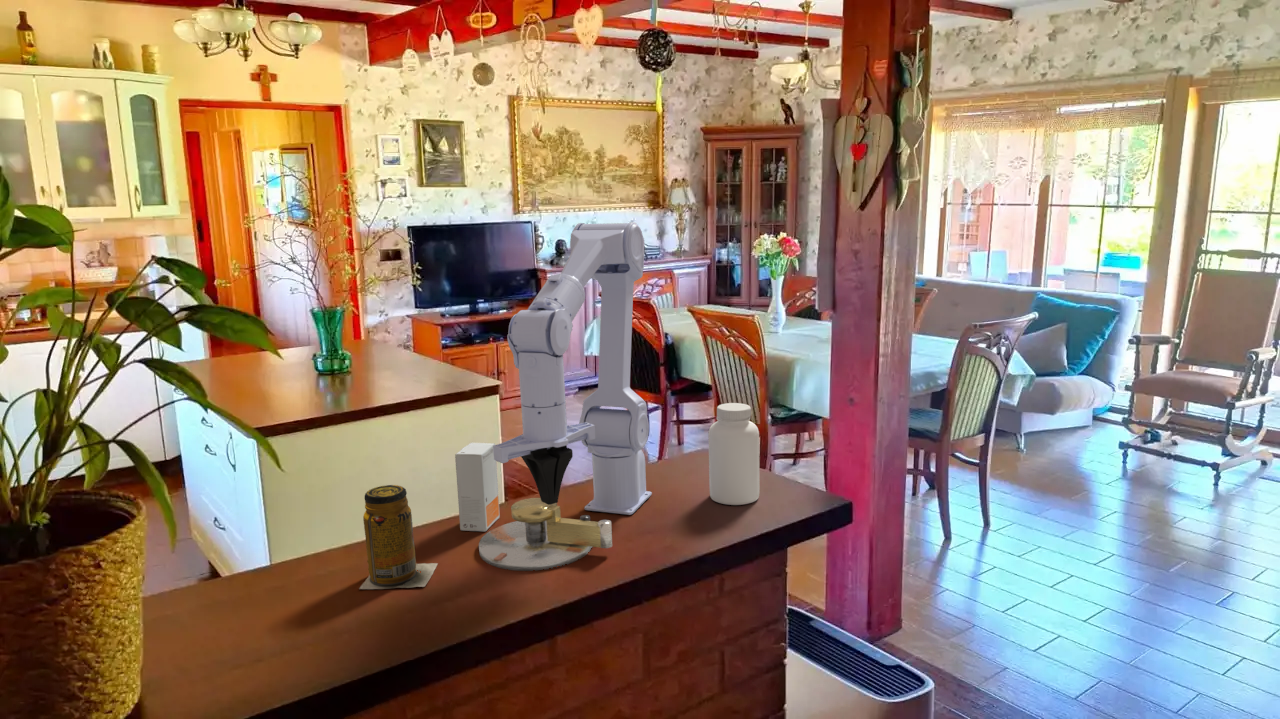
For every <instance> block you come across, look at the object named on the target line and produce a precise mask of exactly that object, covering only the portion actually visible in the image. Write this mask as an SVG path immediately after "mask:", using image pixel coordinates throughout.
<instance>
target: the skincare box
mask: <svg viewBox="0 0 1280 719" xmlns="http://www.w3.org/2000/svg"><path fill="white" fill-rule="evenodd" d="M494 445H496V443H489V442H487V443H486V442H469V444H467V445H465V446H464V447H462V448H461V449H460V450H459V451H458V452H456V453H455V454H454V459H455V472H456V487H457V498H458V499H457V502H458V503H457V504H458V513H459V514H458V515H459V528H460V531H464V532H465V531H467V532H468V531H469V532H485V533H486V532H487V531H488V529H490V527H492V525H493V524H494V523H495V522H496V521H498V519H500V516H501V515H500V502H499V500H500V497H499V483H498V482H499V481H498V468H497V461H495V460H494V453H493V446H494Z"/></svg>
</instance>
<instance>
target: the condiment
mask: <svg viewBox="0 0 1280 719" xmlns="http://www.w3.org/2000/svg"><path fill="white" fill-rule="evenodd" d="M407 494H408V493H407V490H406V488H405V487H403V486H401V485H398V484H388V485H387V484H386V485H380V486H376V487H372V488H371V489H370V488H369V490H368V491H366V492H365V493H364V503H365V504H364V509H365V512H364V513H363V530H364V535H365V547H366V550H365V551H366V555H367V566H368V567H367V568H368V577H367V578H366V579H365V581H364V582H362V584H361V585H360V587H359V588H358V589H359V590H388V589H396V588H401V589H403V588H405V589H406V588H407V589H409V588H416V587H419V588H420V587H422V588H424V587H426V585H427V584H428V583H429V581H430V579H431V577H432V576H433V574H434V572H435V570H436V569H437V566H438V564H439V563H437V562H434V563H433V562H430V563H426V562H423V563H417V559H416V550H415V540H414V538H415V537H414V528H413V517H412V509H411V507H410V506H409V501H408V498H407ZM417 570H418V571H417ZM420 571H421V573H420Z"/></svg>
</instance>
